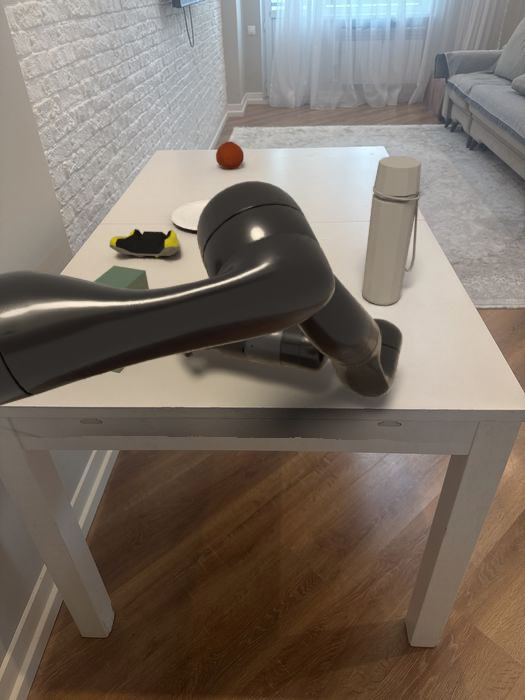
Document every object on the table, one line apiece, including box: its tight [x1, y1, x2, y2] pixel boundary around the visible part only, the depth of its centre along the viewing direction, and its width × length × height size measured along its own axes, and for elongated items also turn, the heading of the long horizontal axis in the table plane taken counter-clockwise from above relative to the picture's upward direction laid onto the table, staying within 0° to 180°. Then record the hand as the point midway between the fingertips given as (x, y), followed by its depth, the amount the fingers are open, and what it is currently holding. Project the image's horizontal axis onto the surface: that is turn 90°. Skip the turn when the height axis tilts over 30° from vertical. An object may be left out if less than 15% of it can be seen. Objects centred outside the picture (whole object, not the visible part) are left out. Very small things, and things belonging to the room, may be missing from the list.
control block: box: [93, 265, 150, 374], centre depth 79 cm, size 6×12×12 cm, turn 160°
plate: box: [170, 198, 212, 232], centre depth 125 cm, size 21×21×2 cm
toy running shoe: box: [109, 228, 180, 259], centre depth 109 cm, size 15×6×10 cm
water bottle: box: [361, 155, 423, 306], centre depth 85 cm, size 9×8×25 cm
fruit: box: [215, 141, 245, 170], centre depth 157 cm, size 9×9×8 cm
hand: (153, 316), depth 76 cm, fingers closed
